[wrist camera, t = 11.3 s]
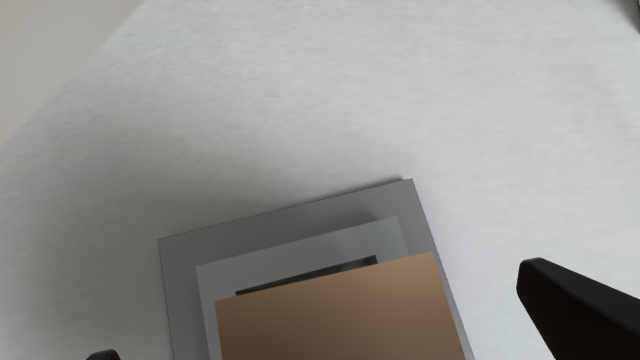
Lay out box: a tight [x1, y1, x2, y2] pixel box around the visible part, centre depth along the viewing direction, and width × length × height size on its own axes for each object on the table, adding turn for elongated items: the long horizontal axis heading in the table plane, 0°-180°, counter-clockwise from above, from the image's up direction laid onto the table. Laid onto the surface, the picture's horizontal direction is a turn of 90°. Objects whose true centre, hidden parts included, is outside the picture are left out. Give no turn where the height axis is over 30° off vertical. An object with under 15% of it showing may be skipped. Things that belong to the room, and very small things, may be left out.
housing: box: [158, 178, 475, 360], centre depth 18 cm, size 14×14×4 cm
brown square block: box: [214, 251, 466, 360], centre depth 13 cm, size 4×4×12 cm
